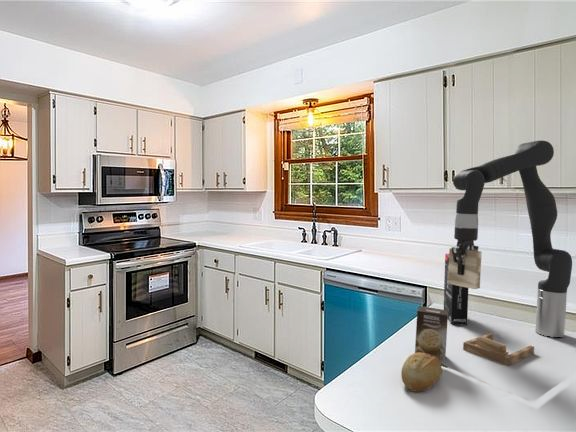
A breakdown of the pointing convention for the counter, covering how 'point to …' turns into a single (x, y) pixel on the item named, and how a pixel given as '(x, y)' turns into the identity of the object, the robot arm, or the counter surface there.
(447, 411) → the counter surface
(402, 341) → the counter surface
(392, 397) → the counter surface
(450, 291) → the graphics card box
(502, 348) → the slat top
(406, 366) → the bread roll
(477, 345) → the slat middle
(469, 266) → the tall beige block
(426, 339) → the coffee box
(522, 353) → the rack
